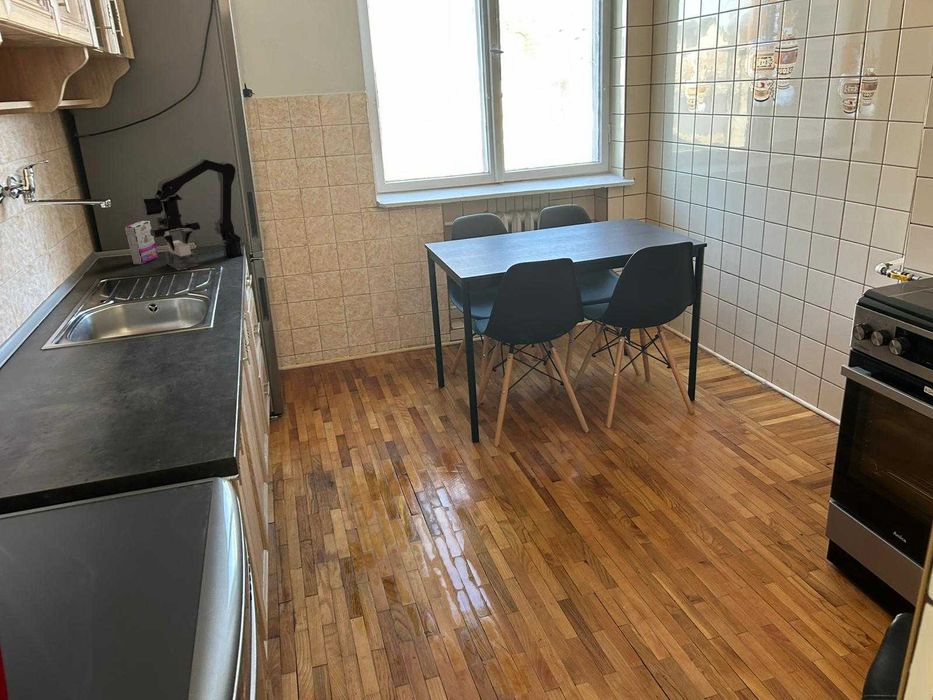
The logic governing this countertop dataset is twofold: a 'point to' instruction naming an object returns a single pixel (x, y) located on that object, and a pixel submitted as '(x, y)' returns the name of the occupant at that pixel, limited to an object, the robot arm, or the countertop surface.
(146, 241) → the candy bar box
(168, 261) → the dark grey angular piece
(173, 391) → the countertop surface
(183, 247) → the clay block
